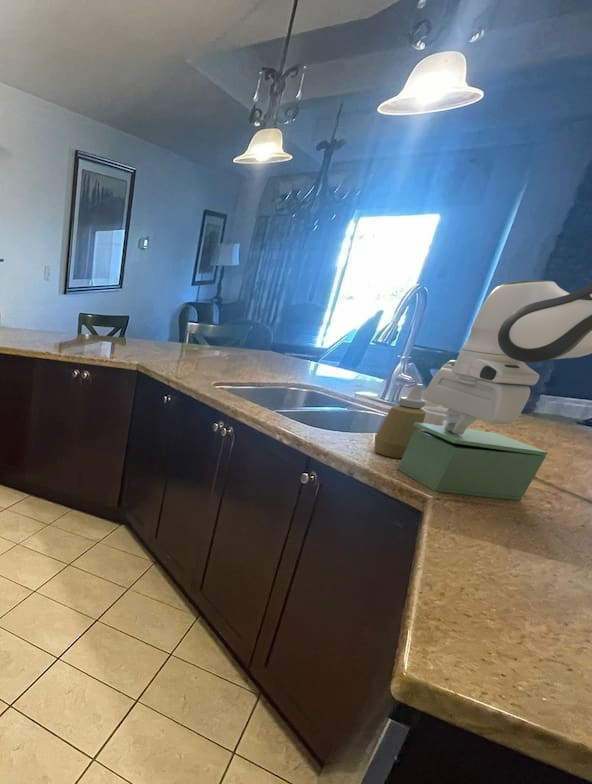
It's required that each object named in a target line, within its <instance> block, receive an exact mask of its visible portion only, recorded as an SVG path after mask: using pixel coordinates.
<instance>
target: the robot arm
mask: <svg viewBox="0 0 592 784" xmlns="http://www.w3.org/2000/svg"><path fill="white" fill-rule="evenodd" d="M588 355H592V283H591V284H589V285H587V286H585V287H583V288H581V289H578V290H576V291H574V292H571V293H570V292H568V291H566V290H564V289H562V288H561V287H560V286H558V284H557V283H556V282H555V281H553V280H549V279H533V280H530V279H528V280H518V281H517V280H516V281H510V282H506V283H503V284H500V285H499V286H496V287H495V288H494V289H493V290H492V291H491V292H490V293H489V294H488V296H486V298H485V301H484V302H483V303H482V305H481V307H480V309H479V311H478V312H477V314H476V317H475V318H474V321H473V322H472V325H471V329H470V336H469V338H467V341H465V343H464V344H463V346H462V347H461V349H460V351H459V354H458V355H457V358H456V359H451V360H449V361H446V363H444V364H442V366H441V368H440V369H439V370H437V371H436V373H435V374H434V375H433V377H432V378H431V380H430V382H429V383H428V385H427V388H426V389H425V391H424V395H423V396H424V400H425V401H426V402H430V403H433V404H435V405H438V406H441V407H443V408H446V409H448V410H447V413H446V416H447V424H446V426H445V428H444V429H445V430H446V431H449V432H451V433H453V434H458V435H462V434H463V433H464V432H465V430H466V429H468V427H470V426H471V425H472V424H473V423H475V422H476V421H477V419H478V420H481V421H484V422H486V423H489V424H496V425H510V424H512V423H514V422H515V421H517V419H518V418H519V417H520V415H521V414H522V412H523V410H524V409H525V406H526V404H527V403H528V400H529V398H530V395H531V388H530V386H535V385H536V384H537V383H538V381H539V380H540V374H539V373H538V372H536V371H535V370H534V369H532V368H531V367H530V366H529V365H527V364H526V363H538V362H544V361H550V360H562V359H573V358H574V359H575V358H581V357H584V356H588ZM460 418H461V419H460Z"/></svg>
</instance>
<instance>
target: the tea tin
mask: <svg viewBox="0 0 592 784" xmlns="http://www.w3.org/2000/svg"><path fill="white" fill-rule="evenodd" d="M546 457H547V455H546V456H542V455H535V454H528V453H521V452H514V451H506V450H499V449H492V448H485V447H478V446H470V445H463V444H456V443H452V442H450V441H448V440H445V439H443V438H441V437H439V436H436V435H434V434H432V433H429V432H427V431H425V430H415V431H414V433H413V435H412V438H411V440H410V442H409V444H408V447H407V449H406V451H405V453H404V455H403V458H401V460H400V462H399V464H398V467H397V469H396V470H398V472H401V473H402V474H405V475H406V476H407V477H409V478H411V479H413V480H414V481H416V482H417V483H420V484H421V485H423V486H424V487H426V488H427V489H429V490H432V491H433V492H438V493H444V494H445V493H447V494H455V495H466V496H472V497H473V496H474V497H485V498H492V499H493V498H494V499H503V500H512V501H521V500H522V499H523V497H524V496H525V494H526V492H527V490H528V488H529V486H530V485H531V483H532V482H533V480H534V478H535V476H536V474H537V473H538V472H539V469H540V468H541V466H542V465H543V462H544V461H545V459H546Z"/></svg>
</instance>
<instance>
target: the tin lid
mask: <svg viewBox="0 0 592 784" xmlns="http://www.w3.org/2000/svg"><path fill="white" fill-rule="evenodd" d="M413 426H416V427H418V428H420V429H423V430H425V431H427V432H429V433H432V434H434V435H436V436H439V437H441V438H443V439H445V440H448V441H450V442H452V443H456V444H463V445H470V446H478V447H485V448H492V449H499V450H506V451H514V452H521V453H528V454H535V455H542V456H546V457H547V455H548V454H549V452H548V451H546V450H543V449H541V448H538V447H535V446H532V445H529V444H527V443H524V442H521V441H519V440H516V439H513V438H511V437H509V436H506V435H503V434H500V433H498V432H491V431H483V430H476V429H469V428H466V430H465V432H464V433H463V434H462V435H458V434H453V433H451V432H449V431H446V430H445V429H444V428H445V426H440V425H433V424H425V423H418V422H414V424H413Z"/></svg>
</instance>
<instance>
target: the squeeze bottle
mask: <svg viewBox="0 0 592 784" xmlns="http://www.w3.org/2000/svg"><path fill="white" fill-rule="evenodd" d="M423 389H424V384H422V383H416V384H415V386H414V387H413V388H412V389H411V391H410V392H409V393H408V395H407V396H401V397H400V398H399V401H398V404H396V405H393V406H391V407H390V409H389V411H388V413H387V415H386V416H385V418H384V419H383V422H382V423H381V424H380V427H379V429H378V430H377V432H376V434H375V435H374V451H375V453H377V454H379V455H382V456H385V457H388V458H396V459H402V458H403V455H404V453H405V451H406V449H407V447H408V444H409V442H410V440H411V438H412V435H413V433H414V431H415V430H421V429H420V428H418V427H416V426H413V424H414V422H418V423H423V422H424V418H425V415H426V412H425V411H424V410H423V409H421V408H423V407H425V405H426V403H427V400H425V399H422V395H423Z"/></svg>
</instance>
